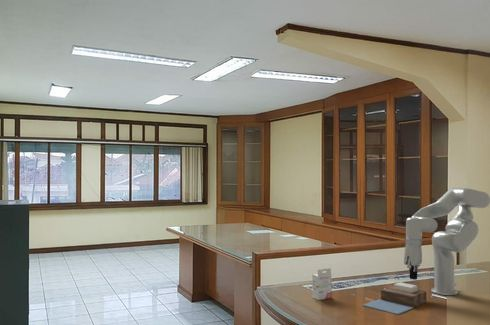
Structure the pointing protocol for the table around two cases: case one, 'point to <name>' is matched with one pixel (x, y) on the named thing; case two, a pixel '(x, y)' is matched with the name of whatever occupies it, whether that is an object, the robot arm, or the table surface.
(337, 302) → the table surface
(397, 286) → the block
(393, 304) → the mat
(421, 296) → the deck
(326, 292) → the ink cartridge box
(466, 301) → the table surface
